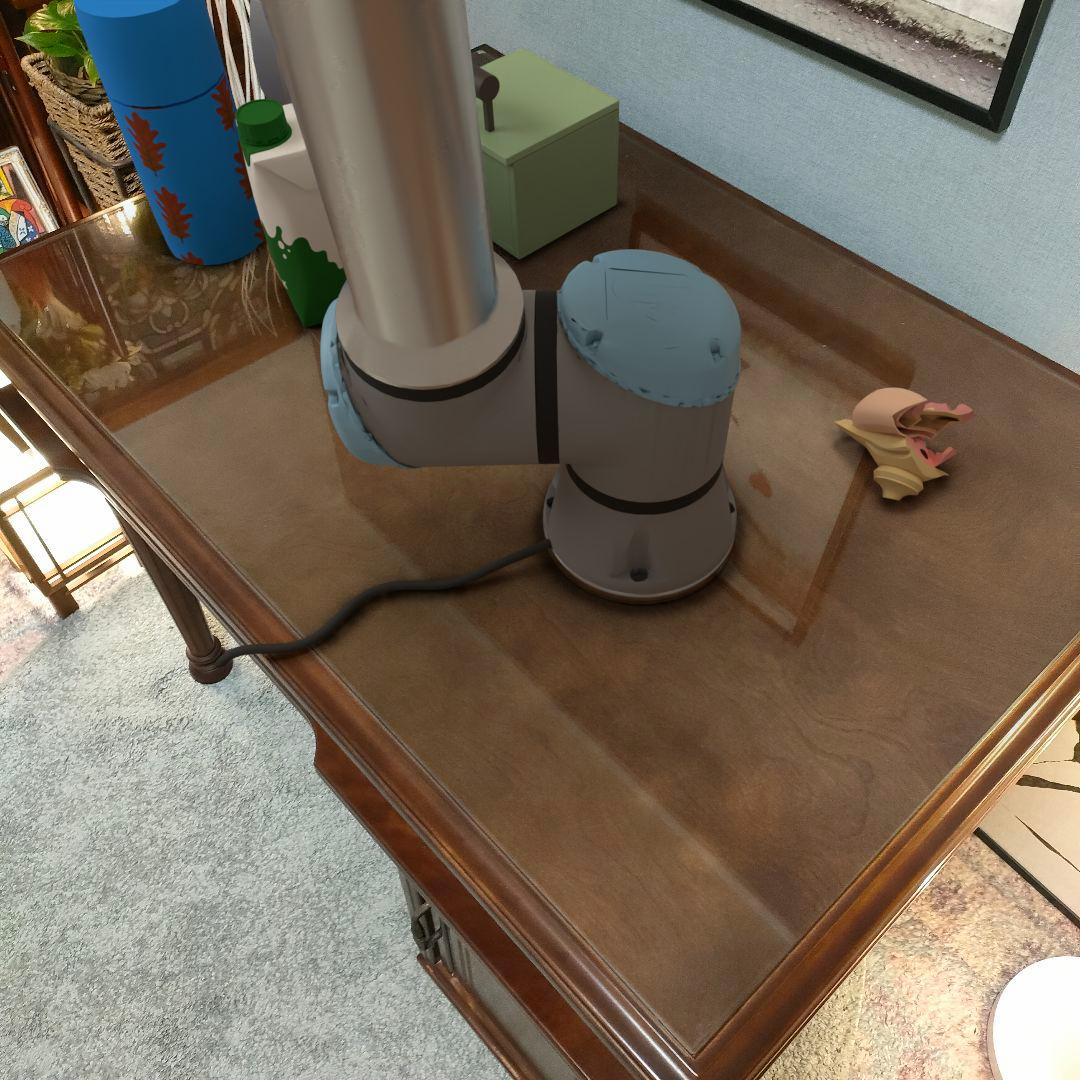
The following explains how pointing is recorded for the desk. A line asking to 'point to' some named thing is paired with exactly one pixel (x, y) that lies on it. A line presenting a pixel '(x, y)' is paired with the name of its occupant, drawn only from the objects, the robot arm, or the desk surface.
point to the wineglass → (266, 57)
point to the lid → (531, 104)
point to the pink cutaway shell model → (902, 437)
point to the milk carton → (290, 207)
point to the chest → (553, 187)
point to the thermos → (176, 122)
